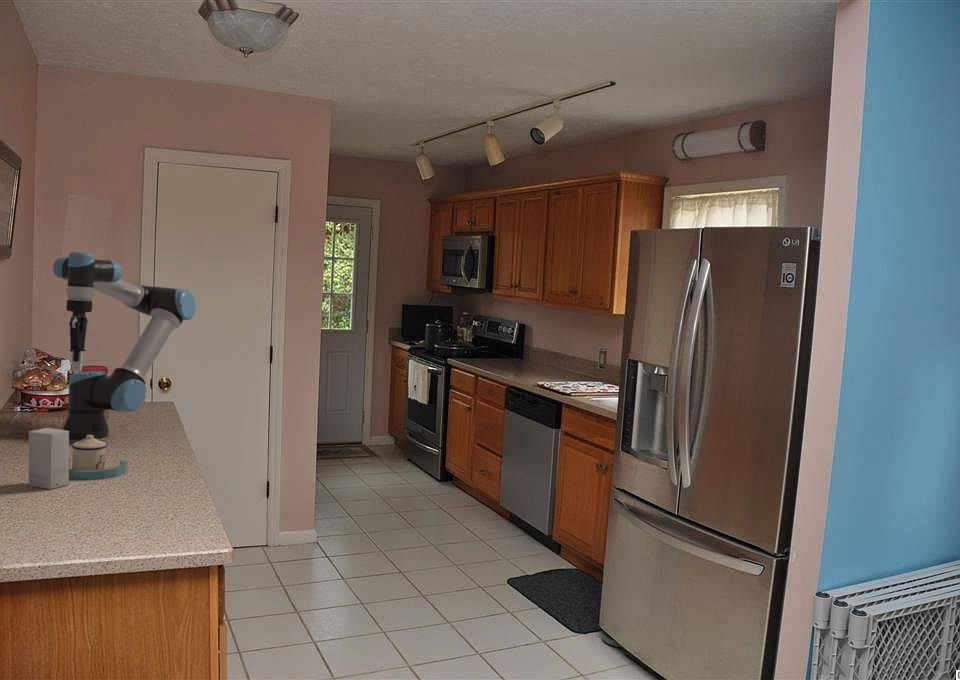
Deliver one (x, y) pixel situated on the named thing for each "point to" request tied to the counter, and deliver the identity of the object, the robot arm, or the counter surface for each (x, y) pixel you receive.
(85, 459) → the teacup with lid
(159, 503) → the counter surface
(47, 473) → the skincare box
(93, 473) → the open curved ring
